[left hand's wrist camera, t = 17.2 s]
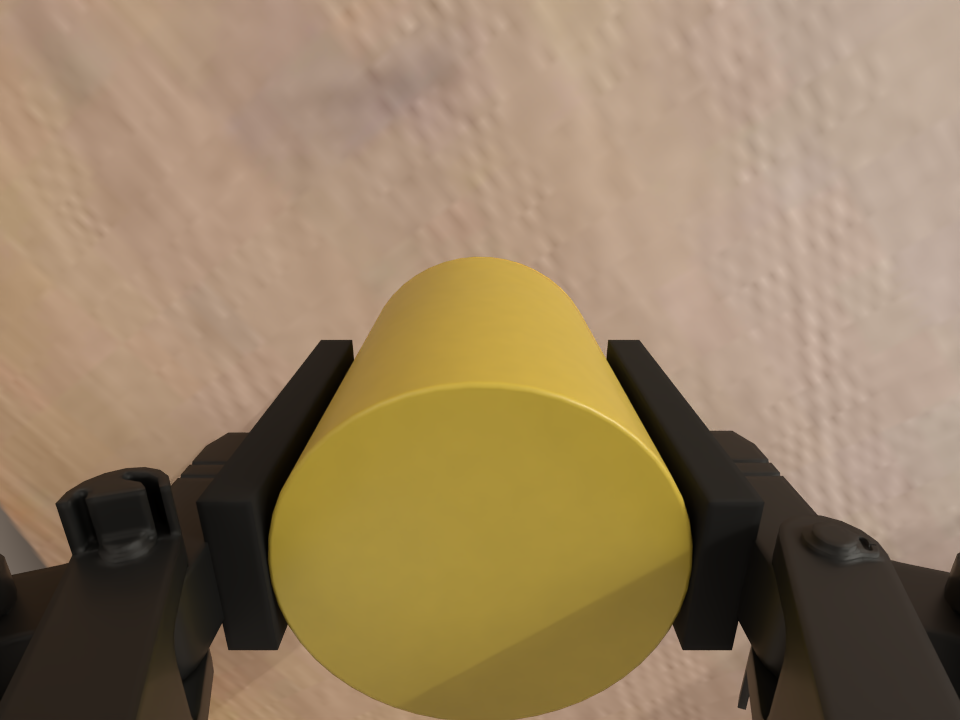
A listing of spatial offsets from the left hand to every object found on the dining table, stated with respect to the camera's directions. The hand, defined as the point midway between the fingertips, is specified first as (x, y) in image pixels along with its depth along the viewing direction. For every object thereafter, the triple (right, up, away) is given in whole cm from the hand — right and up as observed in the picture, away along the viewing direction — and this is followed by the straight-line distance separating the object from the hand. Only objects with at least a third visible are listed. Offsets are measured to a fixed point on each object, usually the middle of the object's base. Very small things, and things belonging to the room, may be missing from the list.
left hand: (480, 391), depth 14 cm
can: (0, +1, +2) cm, 2 cm away
